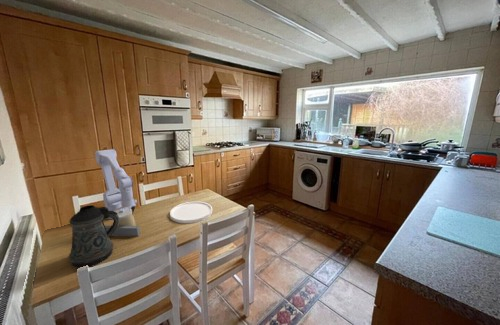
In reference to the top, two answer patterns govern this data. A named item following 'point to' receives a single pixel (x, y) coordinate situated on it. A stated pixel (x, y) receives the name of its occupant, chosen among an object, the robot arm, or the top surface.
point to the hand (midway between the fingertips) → (130, 218)
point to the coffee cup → (125, 217)
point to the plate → (191, 212)
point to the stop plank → (125, 230)
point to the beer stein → (91, 236)
